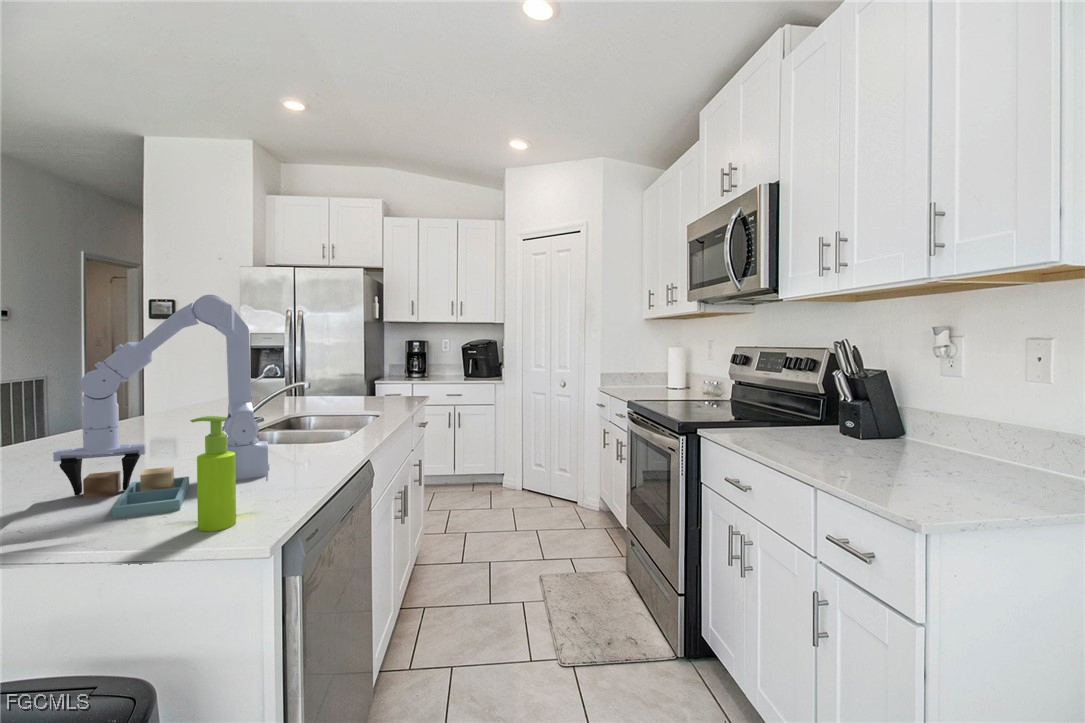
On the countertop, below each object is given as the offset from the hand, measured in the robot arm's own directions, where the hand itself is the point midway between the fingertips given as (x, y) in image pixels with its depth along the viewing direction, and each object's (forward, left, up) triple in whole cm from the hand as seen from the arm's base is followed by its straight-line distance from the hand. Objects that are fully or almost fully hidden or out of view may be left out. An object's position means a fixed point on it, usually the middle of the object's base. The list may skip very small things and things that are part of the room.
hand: (102, 491), depth 106 cm
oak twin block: (-10, +6, 0) cm, 12 cm away
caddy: (-10, +10, -1) cm, 14 cm away
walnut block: (0, 0, -2) cm, 2 cm away
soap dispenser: (-21, +28, -2) cm, 35 cm away
